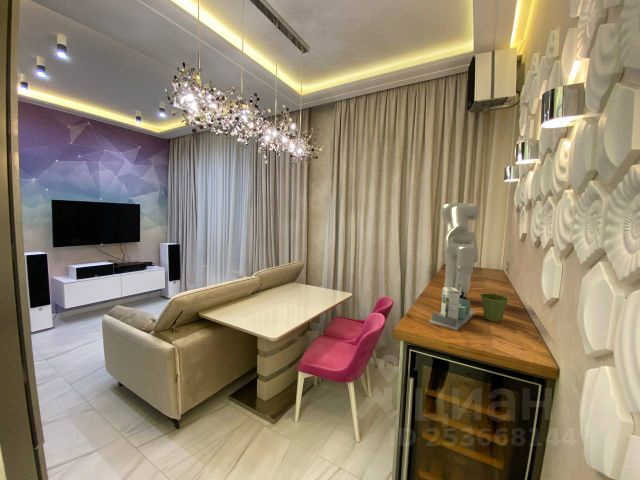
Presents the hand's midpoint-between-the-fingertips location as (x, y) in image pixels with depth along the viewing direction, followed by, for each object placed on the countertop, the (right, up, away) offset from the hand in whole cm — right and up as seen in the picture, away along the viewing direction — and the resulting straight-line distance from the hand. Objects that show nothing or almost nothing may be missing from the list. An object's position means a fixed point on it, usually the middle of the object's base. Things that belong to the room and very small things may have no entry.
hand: (461, 303), depth 138 cm
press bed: (-9, -5, -8) cm, 13 cm away
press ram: (-6, -3, -6) cm, 9 cm away
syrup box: (-13, -4, -13) cm, 18 cm away
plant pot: (+10, -6, -9) cm, 15 cm away
